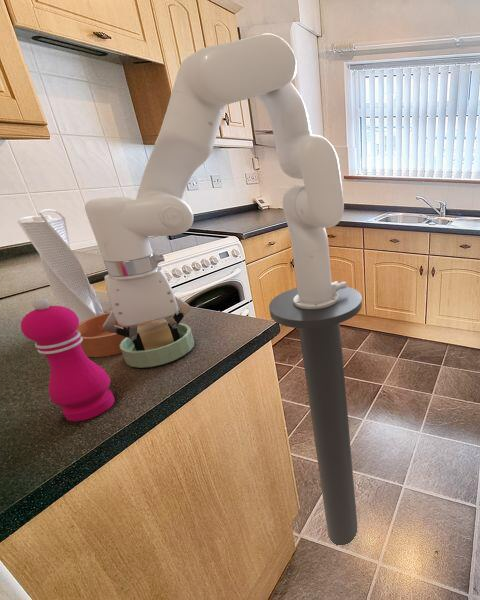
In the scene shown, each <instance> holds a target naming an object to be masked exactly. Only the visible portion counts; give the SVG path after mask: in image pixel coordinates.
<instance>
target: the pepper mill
mask: <svg viewBox="0 0 480 600" xmlns="http://www.w3.org/2000/svg"><path fill="white" fill-rule="evenodd" d="M32 307H33V308H34V309H33V310H31V311H30V312H28V313H26V314H25V315H24V317H23V318H22V320H21V321H20V330H21V332H22V334H23V336H25V337H26V338H27V339H28V340H31V341H34V342H35V343H34V348H36V349H37V352H38V353H39V354H41V355H44V356H45V357H46V360H47V361H48V364H49V369H50V374H49V381H48V395H49V398H50V400H51V402H52V403H53V404H54V405H56V406H59V407H62V408H61V412H62V413H63V416H64V418H65V419H66V420H67V421H69V422H72V423H73V422H74V423H75V422H83V421H87V420H90V419H94V418H96V417H97V416H100V415H102V414H103V413H105V412H106V411H108V410H109V409H110V408H111V407H112V406H113V405H114V404H115V401H116V400H115V399H116V398H115V396H114V394H113V391H112V390H111V389H109V388H110V386H111V378H110V376H109V374H108V373H107V371H106V370H105V369H104V368H103V367H102V366H100V365H98V364H97V363H95V362H94V361H92V360H91V359H90V357H87V356H86V355H85V353H84V351H83V349H82V346H81V342H82V340H83V338H82V337H81V336H80V332H78V331H76V330H77V328H78V326H79V319H78V317H77V315H76V314H75V312H73V311H72V310H71V309H69V308H66V307H62V306H61V305H51V301H50V300H49V299H47V298H45V297H38V298H35V299H34V300H33V301H32Z"/></svg>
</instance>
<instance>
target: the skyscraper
mask: <svg viewBox="0 0 480 600" xmlns="http://www.w3.org/2000/svg"><path fill="white" fill-rule="evenodd" d="M48 212H51V213H55V214H56V215H57V214H58V215H59V216H60V217H51V215H50V214H43V213H48ZM38 214H39V215H30V216H29V215H28V216H23V217H21V218H18V219H17V224H18V225H19V226H20V228H21V229H22V231H23V233H24V235H26V238H28V240H29V241H30V243H31V244H32V246H33V247H34V248H35V250H36V252H37V253H38V254H39V259H40V264H41V267H42V269H43V273H44V275H45V278H46V280H47V282H48V284H49V287H50V289H51V291H52V292H53V294H54V297H55V298H56V300H57V302H58V304H59V306H62V307H66V308H69V309H71V310H72V311H73V312H75V314H76V315H77V317H78V319H79V323H81V322H83V321H85V320H87V319H89V318H92V317H94V316H98V315H101V314H104V313H106V312H105V311H104V310H103V307H102V304H101V301H100V299H98V297H97V294H96V291H95V288H94V286H93V284H92V283H90V281H89V279H88V275H87V274H86V272H85V270H84V267H83V265H82V264H81V262H80V261H79V259H78V256H77V255H76V254H75V253H74V252H73V250H72V249H71V247H70V239H69V232H68V228H67V222H66V218H65V216H63V214H62V213H60V212H59V211H58V210H55V209H52V208H47V209H45V208H44V209H40V211H38Z"/></svg>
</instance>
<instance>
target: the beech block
mask: <svg viewBox="0 0 480 600" xmlns="http://www.w3.org/2000/svg"><path fill="white" fill-rule="evenodd" d="M167 323H168V322H167V320H166V319H161V320H158V321H155V322H154V323H150V324H146V325H142V326H139V327H137V330H138V333H139V335H140V338H141V340H142V343H143V346H144V349H145V350H151V349H156V348H159V347H163V346H166V345H168V344H171V343H173V342H174V340H173V337H172V334H171V331H170V328H169V326H168V324H167Z"/></svg>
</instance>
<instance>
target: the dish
mask: <svg viewBox="0 0 480 600" xmlns="http://www.w3.org/2000/svg"><path fill="white" fill-rule="evenodd" d="M166 323H167V324H168V322H166ZM177 329H178V333H179V336H180V339H179V340H177V341H175V342H173V343H171V344H168V345H166V346H163V347H159V348H156V349H151V350H144V351H136V349H135V346H134V344H133V341H132V340H131V339H130V338H127V337H126V338H125V339H124V340H122V342H121V343H120V349H121V352H122V353H121V354H122V356H123V360H124V361H125V364H126V365H128V366H129V367H132V368H153V367H158V366H162V365H166V364H168V363H171V362H174V361H176V360H178V359H180V358H182V357H184V356H185V355H186V354H188V353H189V352H190V351H192V349H193V348H194V346H195V339H194V336H193V332H192V329H191V327H190V326H189V325H188V324H186V323H183V322H180V323H179V324H178V327H177ZM137 332H138V331H137ZM138 334H139V333H138Z"/></svg>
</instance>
